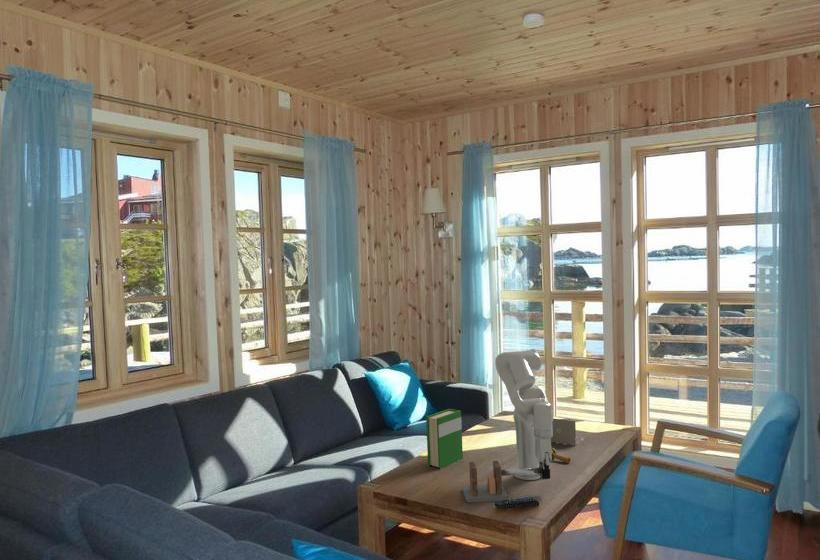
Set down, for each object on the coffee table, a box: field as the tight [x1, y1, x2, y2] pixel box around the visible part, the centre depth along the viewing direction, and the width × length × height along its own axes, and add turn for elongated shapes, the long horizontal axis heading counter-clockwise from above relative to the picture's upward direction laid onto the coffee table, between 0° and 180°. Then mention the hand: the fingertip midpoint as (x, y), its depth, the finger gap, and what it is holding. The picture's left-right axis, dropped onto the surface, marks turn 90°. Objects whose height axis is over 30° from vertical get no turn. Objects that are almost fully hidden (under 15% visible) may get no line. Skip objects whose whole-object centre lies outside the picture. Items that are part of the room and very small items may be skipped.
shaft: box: [501, 462, 551, 480], centre depth 259 cm, size 20×4×6 cm, turn 92°
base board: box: [461, 484, 509, 504], centre depth 259 cm, size 17×14×2 cm
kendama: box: [551, 447, 571, 464], centre depth 300 cm, size 8×6×18 cm
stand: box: [468, 460, 503, 496], centre depth 259 cm, size 12×8×11 cm, turn 92°
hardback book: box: [425, 408, 464, 469], centre depth 301 cm, size 18×7×24 cm, turn 138°
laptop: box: [551, 418, 584, 446], centre depth 330 cm, size 18×12×13 cm
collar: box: [486, 473, 496, 494], centre depth 259 cm, size 2×6×6 cm, turn 2°
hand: (544, 475), depth 259 cm, fingers closed on shaft, 4 cm apart
